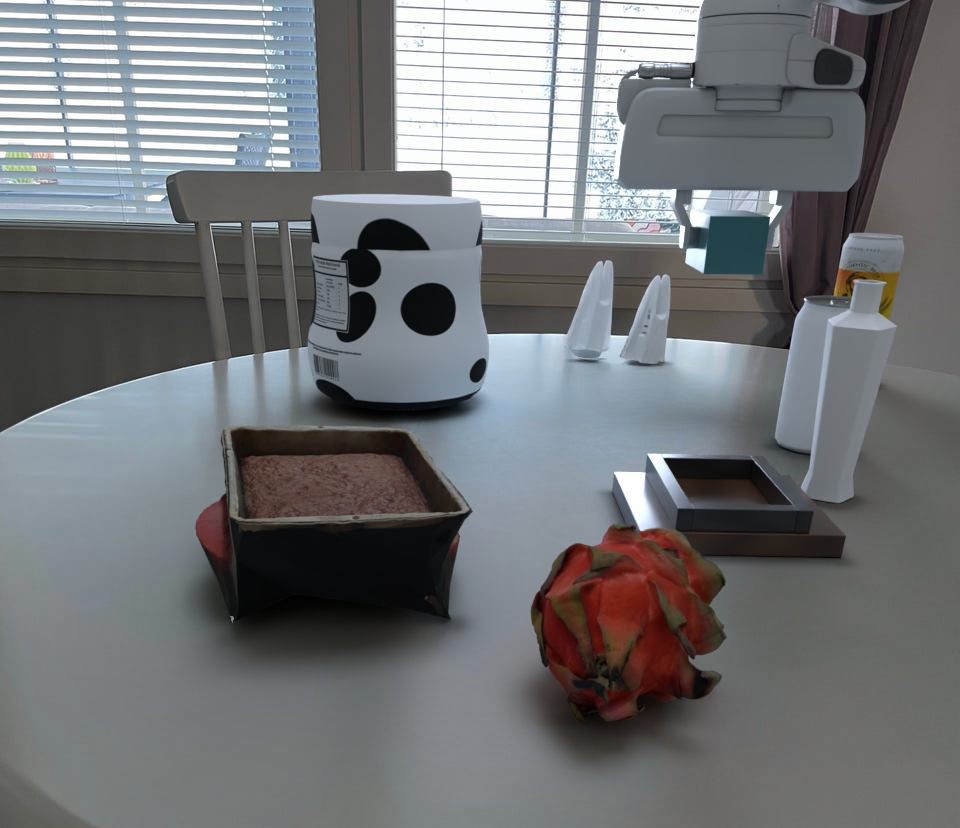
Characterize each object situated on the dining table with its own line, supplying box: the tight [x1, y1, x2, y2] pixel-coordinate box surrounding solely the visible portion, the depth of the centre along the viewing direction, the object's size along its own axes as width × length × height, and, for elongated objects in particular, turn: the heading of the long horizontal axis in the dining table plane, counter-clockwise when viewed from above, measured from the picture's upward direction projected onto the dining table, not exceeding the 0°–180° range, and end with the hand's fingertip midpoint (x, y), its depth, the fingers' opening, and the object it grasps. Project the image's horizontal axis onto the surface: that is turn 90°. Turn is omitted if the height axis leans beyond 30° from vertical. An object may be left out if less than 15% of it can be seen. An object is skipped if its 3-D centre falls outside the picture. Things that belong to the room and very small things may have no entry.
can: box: [774, 295, 852, 455], centre depth 79 cm, size 6×6×12 cm
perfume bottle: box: [800, 280, 898, 504], centre depth 66 cm, size 5×4×15 cm
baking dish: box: [194, 424, 474, 623], centre depth 52 cm, size 14×18×10 cm
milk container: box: [307, 193, 490, 412], centre depth 88 cm, size 17×17×18 cm
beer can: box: [833, 232, 906, 321], centre depth 101 cm, size 6×6×15 cm
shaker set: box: [563, 259, 672, 365], centre depth 109 cm, size 12×4×11 cm, turn 82°
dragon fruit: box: [530, 523, 727, 724], centre depth 42 cm, size 8×8×12 cm
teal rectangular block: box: [684, 209, 771, 276], centre depth 82 cm, size 5×8×4 cm, turn 0°
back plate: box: [612, 453, 847, 558], centre depth 64 cm, size 13×12×3 cm
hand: (725, 248), depth 82 cm, fingers closed on teal rectangular block, 5 cm apart
